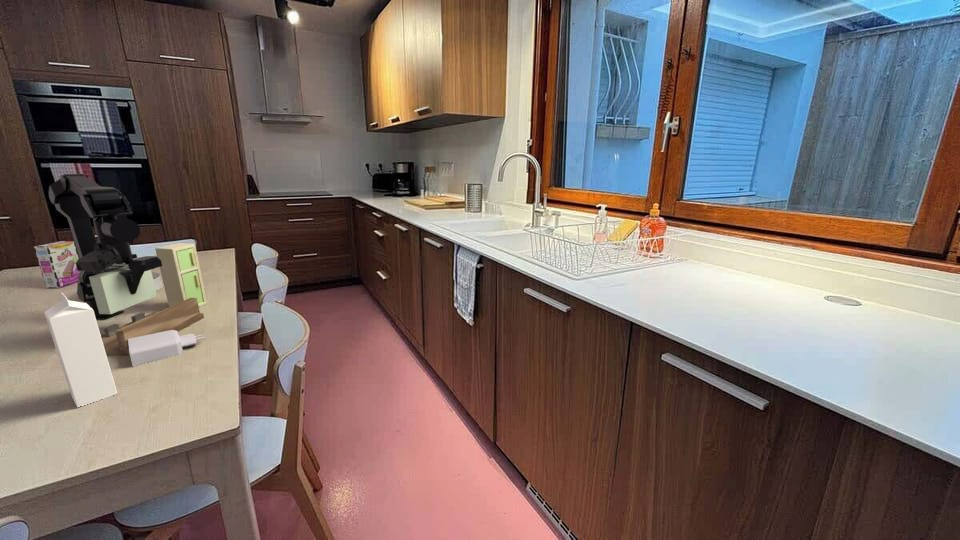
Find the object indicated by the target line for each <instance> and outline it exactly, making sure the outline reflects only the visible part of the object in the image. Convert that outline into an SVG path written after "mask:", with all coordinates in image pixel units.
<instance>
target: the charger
mask: <svg viewBox="0 0 960 540" xmlns="http://www.w3.org/2000/svg"><path fill="white" fill-rule="evenodd" d="M204 339H206V336H205V334H198V335H196V334H195V333H188V334H183V335H179V331H175V330H169V331H164V332H159V333H154V334H149V335H144V336H140V337H135V338H130V339H128V344H129V352H130V355H129V357H130V360H131V364H132V368H135V367H139V366H143V365H145V363H147V364H150V363H149V362H151V363H154V362H153V361H155V362H157V360H159V361H162V360H166V359H169V358H168V357H170V358H173V357H172V356H174V357H177V356H176V355H178V356H180V355H181V353H182V354H183V353H184V350H183V349H184V348H186V347H189V346H190V347H191V346H194V345H197V344H198V342H197V341H199V340H204ZM179 354H180V355H179ZM165 358H166V359H165ZM161 359H162V360H161ZM142 364H143V365H142ZM138 365H139V366H138ZM134 366H135V367H134Z"/></svg>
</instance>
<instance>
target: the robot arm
mask: <svg viewBox="0 0 960 540" xmlns="http://www.w3.org/2000/svg"><path fill="white" fill-rule="evenodd" d="M48 198H49V200H50V202H51V204H53V205H54V207H55V209H56V211H58V212H59V213H60V214H62V215H63V216H64V217H65V218H67V222H68V224H69V228H70V231H71V234H72V238H73V241H74V243H75V247H76V251H77V254H78V260H77V262H76V267H77V270H79V271H80V273H79V275H78V279H79V282H77V285H76V286H77V288H76V295H77V297H78V300H80V301H81V302H82V303H87V304H88V305H89V306H90V307H91V308H92V309H93V311H94V314H95V318H96V320H107V319H110V318H112V317H114V316H117V315H119V314H122V313H124V312H125V309H123V310H120V311H118V312H115V313H113V314H99V310H98V307H97V303H96V300H95V296H94V293H93V289H92V286H91V282H90V279H89V277H90V276H94V275H97V274H101V273H104V272H108V271H111V270H115V269H118V268H122V267H126V268H125V270H126V271H122V272H119V273H120V274H121V275H123V276H124V277H125V279H126V282H127V285H128V288H129V291H130V293H131V294H135V293H136V291H137V289H138V286H139V283H140V280H141V278H142V276H143V274H144V271H148V270H151V271H152V270H154V269H157V268H160V267H161V266H162V262H161V259H160V258H158V257H157V256H149V255H148V256H146V255H144V256H142V257H138V255H137V253H132V249H131V245H130V244H134V241H135V240H137V238H138V237H139V236H140V233H141V227H140V226H139V224H138V223H137V222H136V221H134V220H132V219H130V218H128V216H132V215H133V207H132V205H131V204H130V202H129V201H128V198H126V196H125V195H124V193H122V192H121V191H119V189H118V188H115V187H111V186H101V185H99V184H98V183H97V182H95V181H93V180H92V179H91V178H90V177H89V176H88V174H83V173H64V174H60V176H59V179H58V180H56V181H54V182H52V183H51V184H50V185H49V187H48ZM90 218H91V219H92V220H93V221H92V222H93V225H94V229H95V232H94V230H93V225H92V223H91V219H90ZM95 234H96V236H97V239H98V240H96V236H95ZM97 241H98V242H97ZM86 295H87V296H86Z"/></svg>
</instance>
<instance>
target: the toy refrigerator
mask: <svg viewBox="0 0 960 540" xmlns="http://www.w3.org/2000/svg"><path fill="white" fill-rule="evenodd" d="M155 253H156V257H158V258H160V259H161V262H162V266H161V267H159V270H160V273H161V274H160V276H161V280H162V283H163V288H164V291H165V295H166V300H167V304H168V308H169V307H171V306H173V305H175V304H178V303H180V302H182V301H184V300H187V299H189V298H197V301H198V306H199V308H200V307H203V306H206V305H207V304H208V301H207V296H206V292H205V287H204V281H203V276H202V271H201V266H200V261H199V257H198V253H197V247H196V243H186V242H177V243H172V244H167V245H162V246H158V247H156V248H155Z"/></svg>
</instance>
